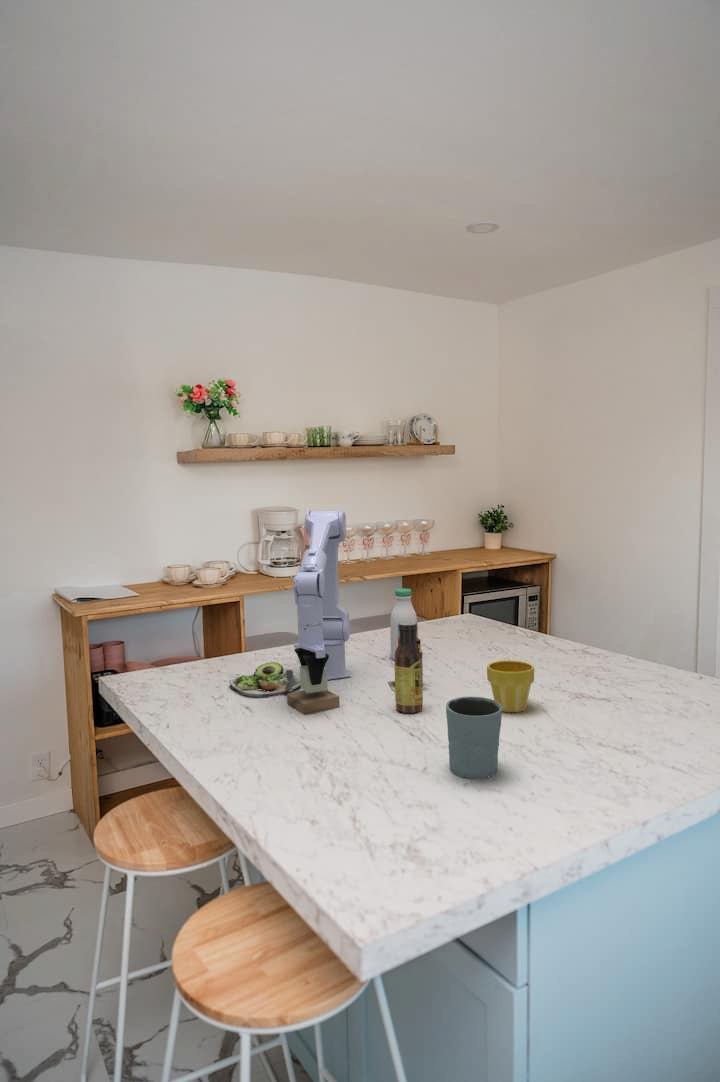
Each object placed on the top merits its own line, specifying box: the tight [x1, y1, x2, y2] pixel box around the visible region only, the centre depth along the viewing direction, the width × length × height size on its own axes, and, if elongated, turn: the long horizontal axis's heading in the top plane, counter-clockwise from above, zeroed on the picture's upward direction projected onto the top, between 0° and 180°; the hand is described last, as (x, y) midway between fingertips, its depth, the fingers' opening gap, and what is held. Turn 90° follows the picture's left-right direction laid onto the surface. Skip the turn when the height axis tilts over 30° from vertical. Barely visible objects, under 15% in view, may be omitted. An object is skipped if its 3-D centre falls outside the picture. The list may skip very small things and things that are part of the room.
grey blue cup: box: [445, 696, 503, 779], centre depth 131 cm, size 10×10×12 cm
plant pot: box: [486, 659, 535, 714], centre depth 163 cm, size 10×10×10 cm
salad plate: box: [229, 661, 301, 698], centre depth 183 cm, size 19×18×5 cm
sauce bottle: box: [394, 622, 424, 714], centre depth 163 cm, size 7×6×20 cm
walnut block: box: [286, 689, 341, 716], centre depth 169 cm, size 9×9×3 cm
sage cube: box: [299, 665, 329, 693], centre depth 168 cm, size 5×5×5 cm
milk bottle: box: [389, 587, 419, 661], centre depth 206 cm, size 8×8×20 cm
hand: (312, 681), depth 168 cm, fingers closed on sage cube, 5 cm apart
